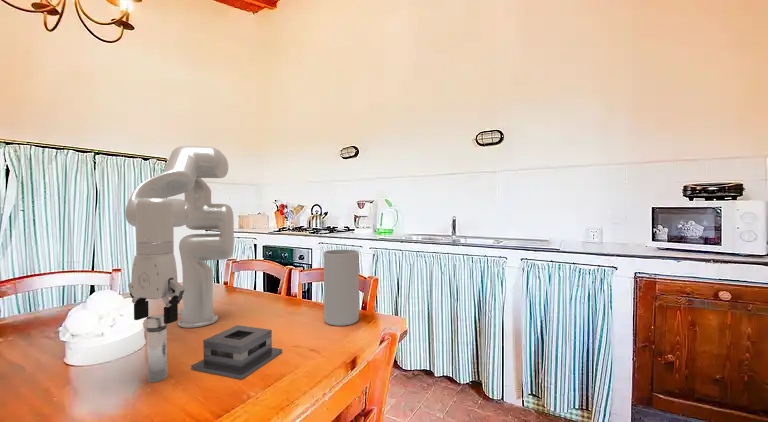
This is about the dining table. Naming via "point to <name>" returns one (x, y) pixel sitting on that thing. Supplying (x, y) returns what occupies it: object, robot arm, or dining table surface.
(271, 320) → the dining table surface
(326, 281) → the cylinder vase
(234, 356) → the collar stand
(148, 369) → the tube
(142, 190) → the robot arm
